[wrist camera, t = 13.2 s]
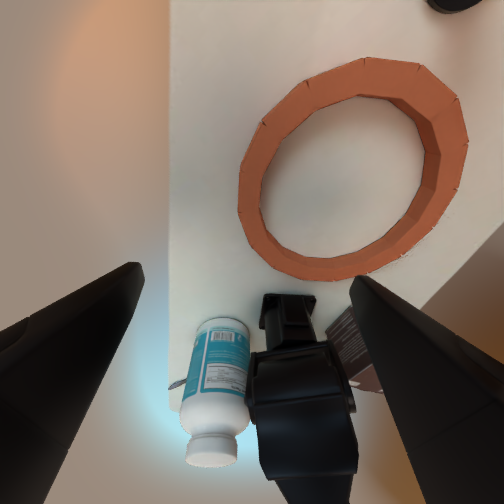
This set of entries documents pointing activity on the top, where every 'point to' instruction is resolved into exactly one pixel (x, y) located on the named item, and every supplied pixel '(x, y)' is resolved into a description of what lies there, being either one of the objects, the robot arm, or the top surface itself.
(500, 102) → the top surface
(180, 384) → the pen
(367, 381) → the box
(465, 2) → the post stand
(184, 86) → the top surface
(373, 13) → the top surface
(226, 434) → the pill bottle
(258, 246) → the ring
